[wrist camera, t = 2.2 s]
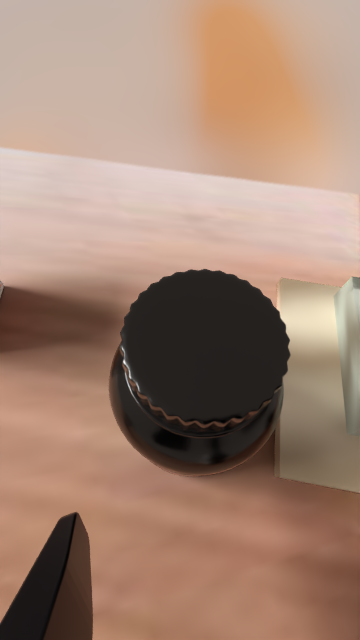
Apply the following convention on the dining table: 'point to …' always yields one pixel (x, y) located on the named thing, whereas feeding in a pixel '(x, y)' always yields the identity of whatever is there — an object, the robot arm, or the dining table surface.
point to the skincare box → (1, 288)
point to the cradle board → (320, 385)
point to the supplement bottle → (199, 372)
